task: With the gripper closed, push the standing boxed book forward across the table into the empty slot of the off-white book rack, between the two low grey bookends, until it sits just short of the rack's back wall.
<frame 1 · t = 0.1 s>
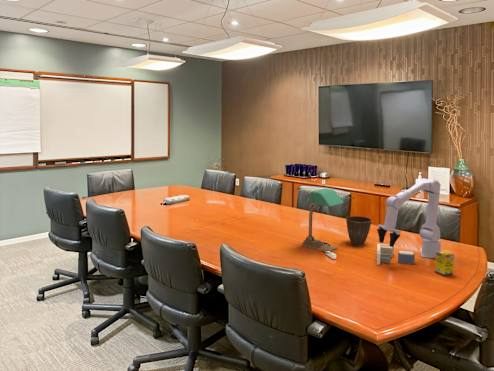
hand: (386, 244, 226), 11 cm above the table, tool pointing down, fingers open, 7 cm apart
plant pot: (357, 244, 262), on the table
book rack: (386, 259, 234), on the table
boxed book: (405, 262, 230), on the table
banker's lamp: (320, 248, 254), on the table
supplement box: (443, 273, 214), on the table
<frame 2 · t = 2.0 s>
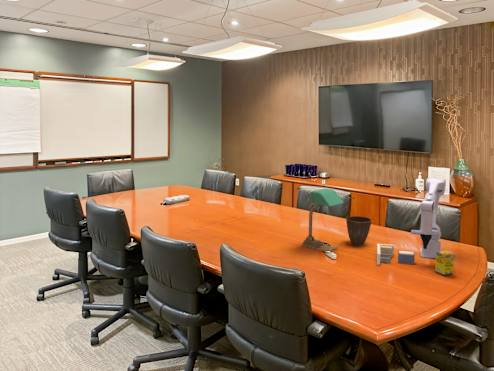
hand: (424, 248, 226), 9 cm above the table, tool pointing down, fingers closed
nothing on the table moved.
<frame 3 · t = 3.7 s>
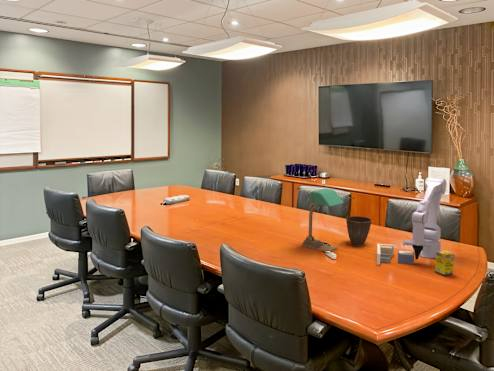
hand: (416, 258, 228), 2 cm above the table, tool pointing down, fingers closed
boxed book: (405, 262, 230), on the table, touching gripper
everything else where it was.
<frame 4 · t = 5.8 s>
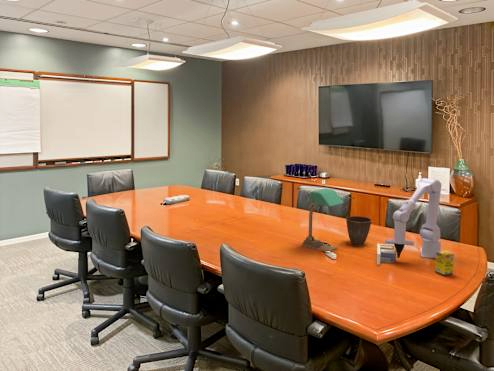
hand: (398, 257, 231), 2 cm above the table, tool pointing down, fingers closed
boxed book: (387, 260, 233), on the table, touching book rack, gripper
everything else where it was.
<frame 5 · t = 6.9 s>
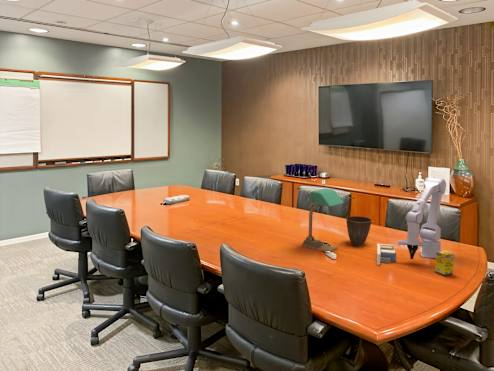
hand: (411, 258, 229), 2 cm above the table, tool pointing down, fingers closed
boxed book: (387, 260, 233), on the table
everything else where it was.
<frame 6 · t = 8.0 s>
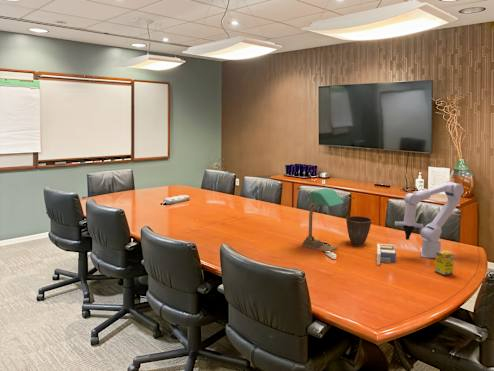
hand: (407, 239, 237), 10 cm above the table, tool pointing down, fingers closed
boxed book: (387, 260, 232), on the table, touching book rack
everything else where it was.
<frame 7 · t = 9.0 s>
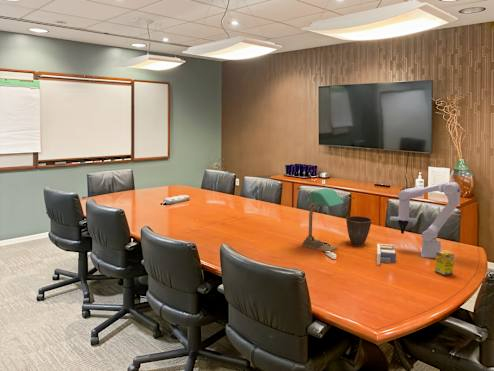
hand: (402, 233, 249), 10 cm above the table, tool pointing down, fingers closed
boxed book: (387, 260, 232), on the table
everything else where it was.
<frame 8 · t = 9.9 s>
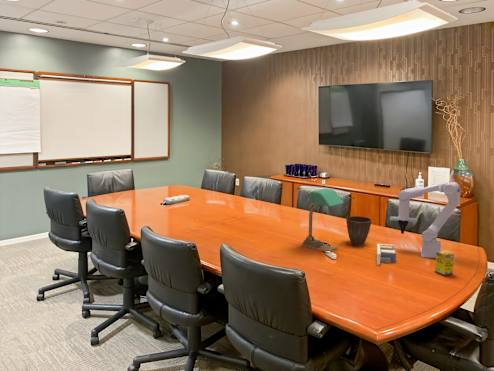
hand: (402, 233, 249), 10 cm above the table, tool pointing down, fingers closed
nothing on the table moved.
at the end: boxed book 0.2 cm from the target spot, on the table; boxed book tilted 0° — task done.
